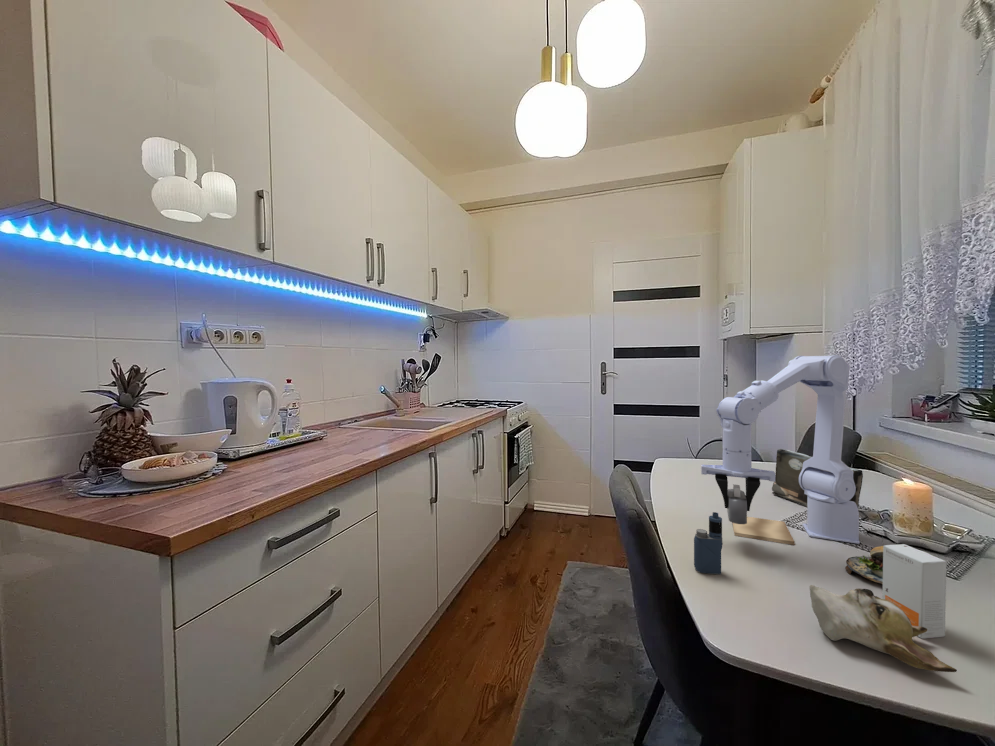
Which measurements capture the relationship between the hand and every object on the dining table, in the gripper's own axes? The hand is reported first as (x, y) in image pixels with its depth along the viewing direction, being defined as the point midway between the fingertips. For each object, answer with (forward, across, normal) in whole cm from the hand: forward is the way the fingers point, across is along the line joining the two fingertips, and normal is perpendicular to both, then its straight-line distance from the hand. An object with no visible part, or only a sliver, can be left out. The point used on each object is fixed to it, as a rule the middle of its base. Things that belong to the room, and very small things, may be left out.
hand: (736, 508), depth 92 cm
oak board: (+9, +6, +13) cm, 17 cm away
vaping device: (+9, -6, -15) cm, 19 cm away
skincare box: (+9, +23, -20) cm, 32 cm away
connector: (+2, 0, 0) cm, 2 cm away
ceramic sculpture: (+9, +16, -28) cm, 34 cm away
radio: (+9, +23, +41) cm, 48 cm away
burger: (+9, +25, -3) cm, 27 cm away
